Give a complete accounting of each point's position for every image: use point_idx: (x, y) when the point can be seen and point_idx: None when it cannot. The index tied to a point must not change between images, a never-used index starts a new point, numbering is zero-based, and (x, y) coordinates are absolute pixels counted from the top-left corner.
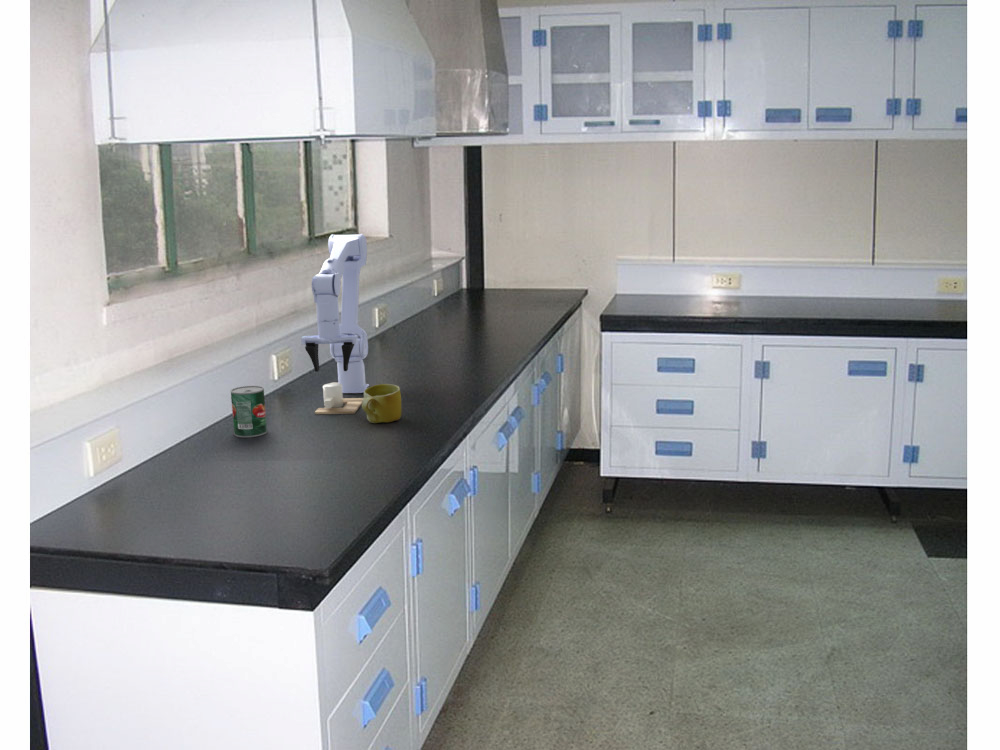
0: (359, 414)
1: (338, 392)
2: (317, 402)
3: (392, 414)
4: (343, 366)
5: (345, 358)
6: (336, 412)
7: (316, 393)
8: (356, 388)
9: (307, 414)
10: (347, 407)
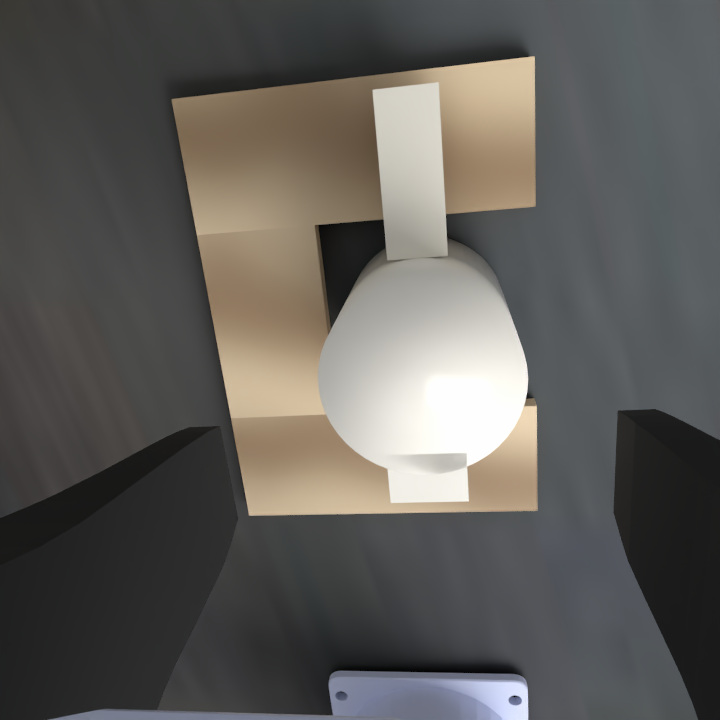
0: (129, 77)
1: (345, 305)
2: (603, 456)
3: None
4: (186, 446)
5: (64, 502)
6: (329, 81)
7: (669, 692)
8: (375, 711)
9: (603, 44)
10: (279, 234)
